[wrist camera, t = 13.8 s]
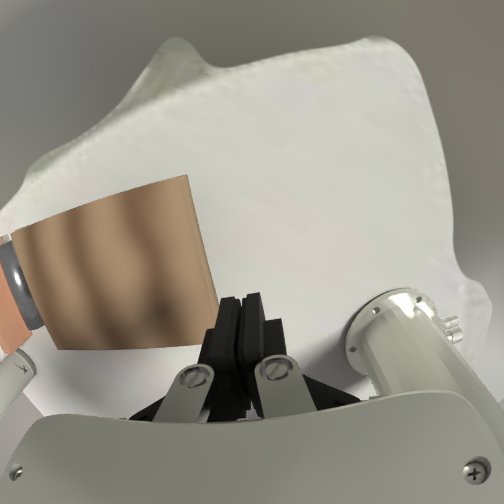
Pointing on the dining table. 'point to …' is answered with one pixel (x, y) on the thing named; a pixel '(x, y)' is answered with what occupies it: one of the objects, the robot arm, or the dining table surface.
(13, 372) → the travel mug
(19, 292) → the roller
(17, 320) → the bar
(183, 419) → the robot arm
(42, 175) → the dining table surface
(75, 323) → the slab
